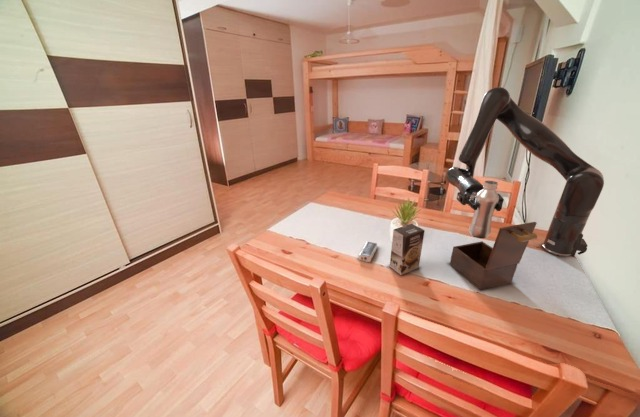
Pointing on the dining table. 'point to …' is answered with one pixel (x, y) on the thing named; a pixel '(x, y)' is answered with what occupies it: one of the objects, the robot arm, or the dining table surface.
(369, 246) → the multiport hub
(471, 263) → the chest
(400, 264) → the coffee box
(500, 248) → the lid
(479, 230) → the silver metal bottle
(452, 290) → the dining table surface
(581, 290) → the dining table surface
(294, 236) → the dining table surface
